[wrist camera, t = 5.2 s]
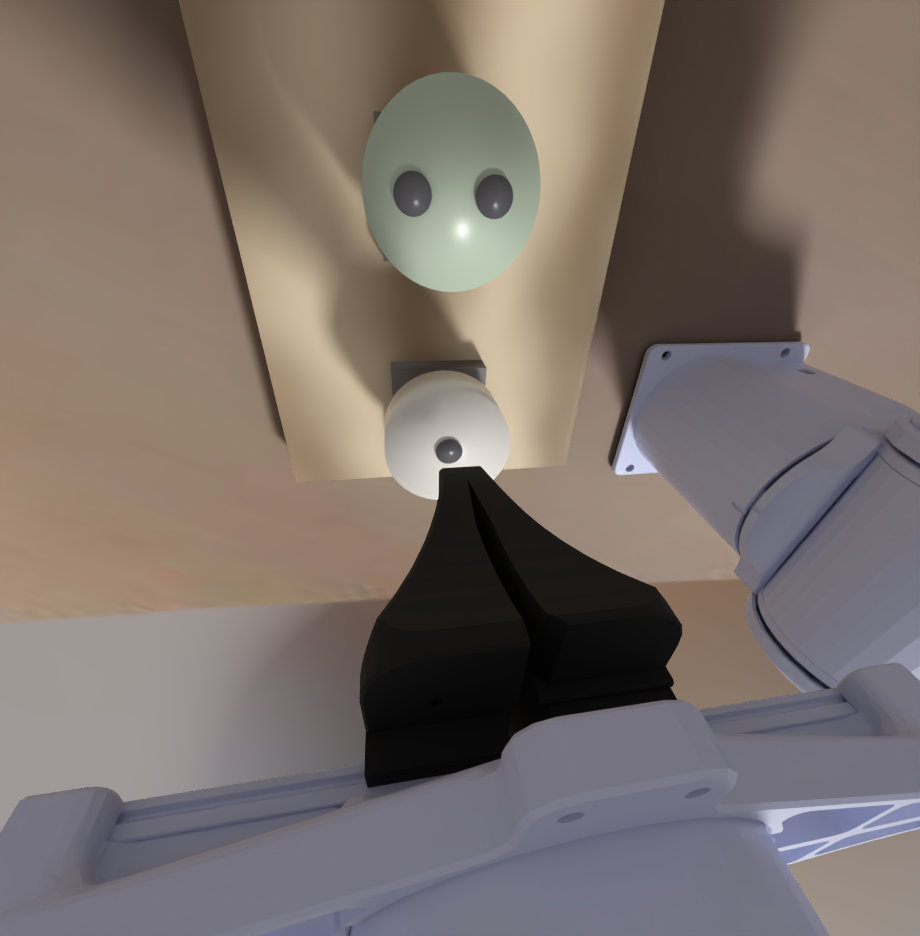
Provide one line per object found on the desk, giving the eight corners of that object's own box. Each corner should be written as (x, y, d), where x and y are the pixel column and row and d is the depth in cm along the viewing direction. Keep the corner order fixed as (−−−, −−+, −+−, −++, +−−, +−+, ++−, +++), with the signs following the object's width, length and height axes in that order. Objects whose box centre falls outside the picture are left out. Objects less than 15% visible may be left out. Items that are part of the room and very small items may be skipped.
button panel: (706, -375, 10) (809, -555, 8) (552, 446, 24) (572, 476, 21) (77, -544, 8) (-55, -861, 6) (302, 460, 22) (292, 494, 19)
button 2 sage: (529, 95, 11) (556, 78, 10) (512, 280, 14) (530, 293, 12) (355, 82, 11) (350, 61, 9) (372, 279, 13) (370, 292, 12)
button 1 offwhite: (503, 368, 16) (518, 390, 14) (494, 469, 19) (505, 498, 17) (379, 372, 15) (379, 395, 13) (388, 475, 18) (389, 506, 16)
